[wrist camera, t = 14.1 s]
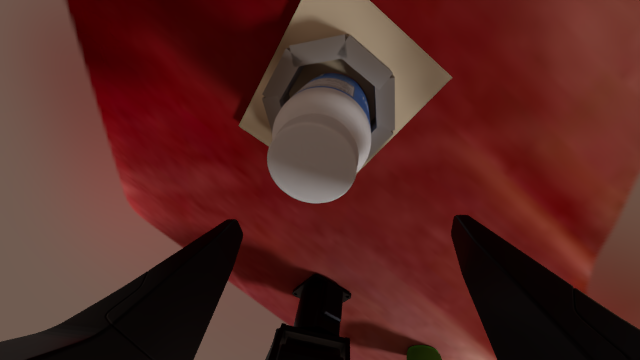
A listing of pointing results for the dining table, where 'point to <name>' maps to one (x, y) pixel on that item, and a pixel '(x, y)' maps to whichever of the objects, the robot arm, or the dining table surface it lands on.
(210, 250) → the robot arm
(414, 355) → the cup
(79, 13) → the dining table surface
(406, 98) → the collar
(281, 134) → the pill bottle
